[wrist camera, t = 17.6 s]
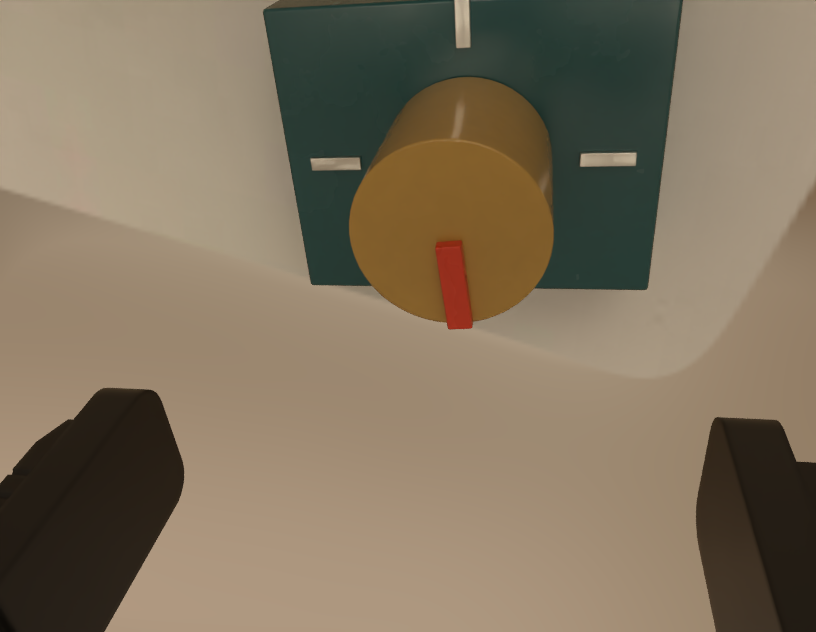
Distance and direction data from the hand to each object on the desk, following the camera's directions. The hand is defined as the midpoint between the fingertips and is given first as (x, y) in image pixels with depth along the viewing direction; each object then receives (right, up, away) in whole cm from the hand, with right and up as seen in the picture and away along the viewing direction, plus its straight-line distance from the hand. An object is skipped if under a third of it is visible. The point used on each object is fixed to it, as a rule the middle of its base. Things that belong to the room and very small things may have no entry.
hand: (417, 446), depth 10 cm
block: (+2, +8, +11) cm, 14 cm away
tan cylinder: (+1, +6, +9) cm, 11 cm away
